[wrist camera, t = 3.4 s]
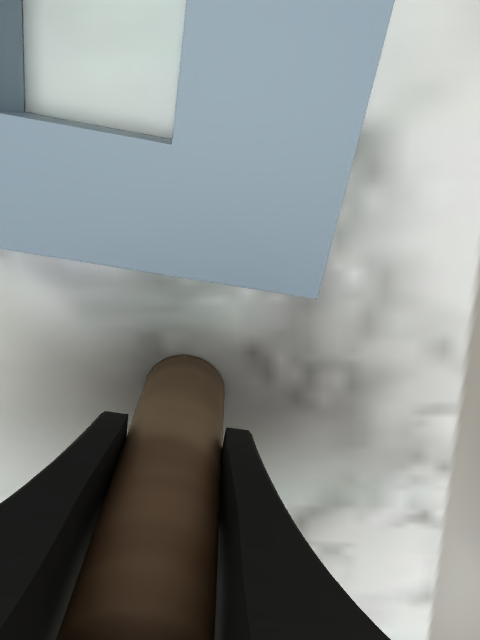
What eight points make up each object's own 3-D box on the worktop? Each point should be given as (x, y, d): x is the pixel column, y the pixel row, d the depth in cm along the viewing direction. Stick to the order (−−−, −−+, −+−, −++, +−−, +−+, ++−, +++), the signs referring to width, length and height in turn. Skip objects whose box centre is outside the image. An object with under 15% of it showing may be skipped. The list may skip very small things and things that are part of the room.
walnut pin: (218, 427, 15) (202, 712, 8) (142, 417, 15) (52, 700, 8) (230, 361, 14) (224, 619, 7) (148, 349, 14) (52, 602, 7)
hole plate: (305, 274, 13) (316, 299, 11) (-123, 204, 12) (-187, 219, 10) (418, -189, 9) (464, -269, 7) (-210, -347, 8) (-341, -486, 6)
